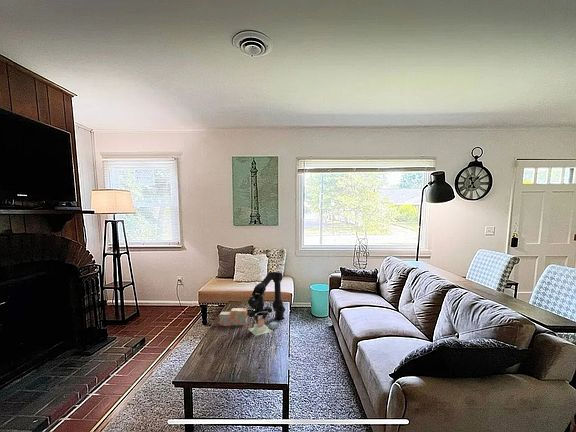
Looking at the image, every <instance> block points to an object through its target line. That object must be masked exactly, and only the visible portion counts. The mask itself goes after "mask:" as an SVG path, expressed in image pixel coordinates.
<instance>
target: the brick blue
mask: <svg viewBox="0 0 576 432" xmlns="http://www.w3.org/2000/svg"><path fill="white" fill-rule="evenodd" d="M269 329H271V330H276V329H279V323H278V322H277V321H272V322H269Z"/></svg>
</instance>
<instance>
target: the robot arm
mask: <svg viewBox="0 0 576 432" xmlns="http://www.w3.org/2000/svg"><path fill="white" fill-rule="evenodd" d="M267 273H268V274H267V275H266V276H265V277H264V279H262V280H261V282H259V283H258V284H256V285H255V286H254V288H253V291H252V294H251V296H250V298H249V299H248V301H247V304H248V305H249V307H250V309H251V310H247V317H249V318H254V321H255V324H257V323H258V318H259V316H258V314H262V316H261V317H262V318H263V319H264V321H266V318H267V316H268V315H269V314H270V313H272V312H274V319H275V320H277V321H280V320H284V319H285V317H284V313H285V311H286V308H285V306H284V302H283V301H282V299H281V298H282V297H281V296H282V295H281V293H282V292H281V291H282V290H281V283H282V280H283V273H282V272H277V271H268V272H267ZM272 281H273V284H274V300H273V302H272V307H270V306H266V307H265V303H264V296H265V291H266V290H267V289H266V288H267V286H268V285H269V284H270V282H272ZM253 310H254V311H253Z"/></svg>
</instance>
